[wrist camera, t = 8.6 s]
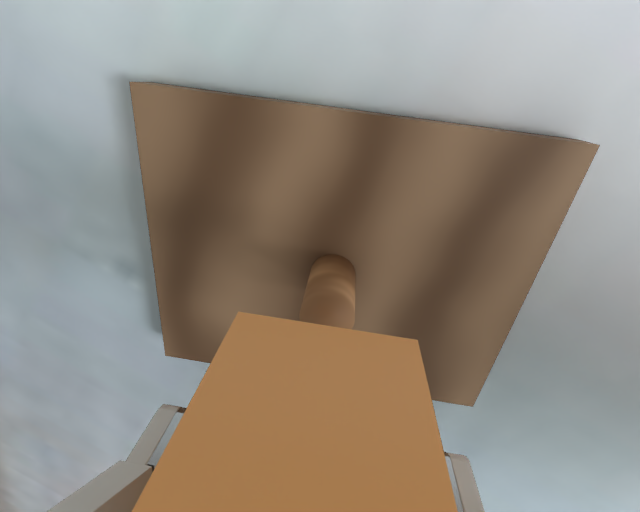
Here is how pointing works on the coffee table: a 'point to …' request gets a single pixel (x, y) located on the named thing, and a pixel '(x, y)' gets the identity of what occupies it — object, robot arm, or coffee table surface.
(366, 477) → the wooden toy cube
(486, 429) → the coffee table surface
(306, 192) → the post block
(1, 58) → the coffee table surface
